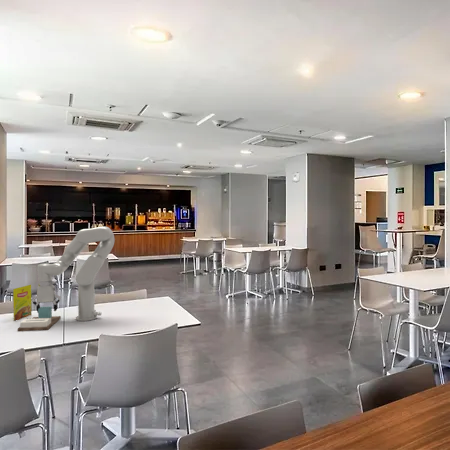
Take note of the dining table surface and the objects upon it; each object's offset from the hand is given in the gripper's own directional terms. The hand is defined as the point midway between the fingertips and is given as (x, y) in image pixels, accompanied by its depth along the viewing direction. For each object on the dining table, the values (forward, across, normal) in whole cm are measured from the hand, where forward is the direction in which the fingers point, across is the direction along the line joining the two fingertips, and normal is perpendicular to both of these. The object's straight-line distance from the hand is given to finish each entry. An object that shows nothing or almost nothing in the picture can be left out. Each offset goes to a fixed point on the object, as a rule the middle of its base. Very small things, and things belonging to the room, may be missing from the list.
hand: (47, 311), depth 230 cm
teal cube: (+4, +1, 0) cm, 4 cm away
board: (+6, +2, +8) cm, 10 cm away
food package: (+5, +18, -8) cm, 20 cm away
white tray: (+4, +1, +15) cm, 16 cm away
